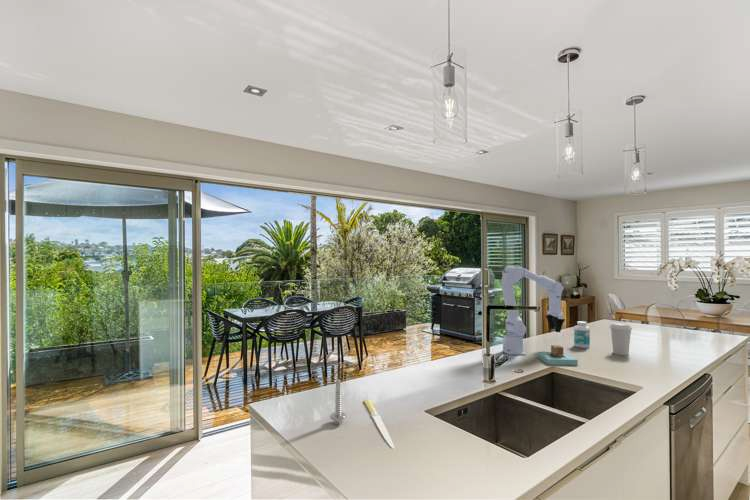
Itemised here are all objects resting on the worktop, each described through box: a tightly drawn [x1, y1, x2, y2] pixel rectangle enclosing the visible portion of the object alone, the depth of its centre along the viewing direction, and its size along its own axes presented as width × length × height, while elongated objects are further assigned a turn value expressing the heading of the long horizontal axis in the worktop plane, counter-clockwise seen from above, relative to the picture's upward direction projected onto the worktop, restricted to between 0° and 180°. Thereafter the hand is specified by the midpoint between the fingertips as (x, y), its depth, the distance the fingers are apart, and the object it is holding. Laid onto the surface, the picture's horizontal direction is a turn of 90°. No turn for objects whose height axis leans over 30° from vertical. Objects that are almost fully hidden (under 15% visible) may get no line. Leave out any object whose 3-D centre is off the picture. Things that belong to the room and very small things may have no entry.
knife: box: [363, 398, 395, 450], centre depth 115 cm, size 1×33×5 cm
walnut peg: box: [550, 344, 564, 357], centre depth 178 cm, size 4×4×7 cm
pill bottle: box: [573, 320, 591, 349], centre depth 206 cm, size 8×7×14 cm
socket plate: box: [537, 351, 579, 366], centre depth 178 cm, size 13×13×2 cm
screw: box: [329, 379, 347, 426], centre depth 113 cm, size 13×5×5 cm
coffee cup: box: [609, 322, 633, 356], centre depth 192 cm, size 10×10×15 cm
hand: (554, 330), depth 198 cm, fingers open, 7 cm apart
